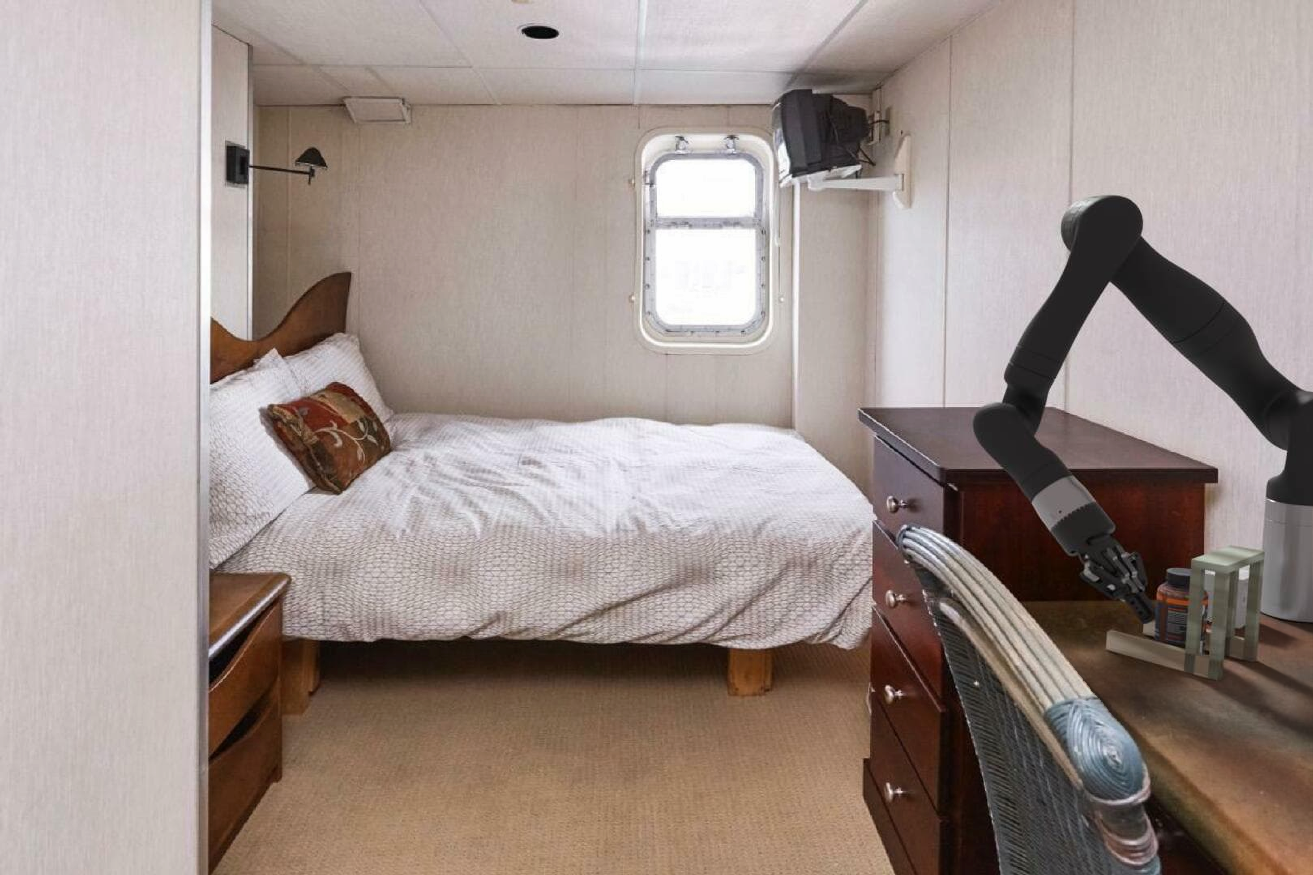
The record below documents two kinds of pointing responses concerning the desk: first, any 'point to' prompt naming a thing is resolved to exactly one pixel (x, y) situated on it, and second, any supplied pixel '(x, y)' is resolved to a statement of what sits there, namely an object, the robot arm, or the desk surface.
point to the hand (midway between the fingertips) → (1152, 620)
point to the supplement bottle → (1176, 610)
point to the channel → (1223, 618)
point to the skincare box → (1240, 597)
